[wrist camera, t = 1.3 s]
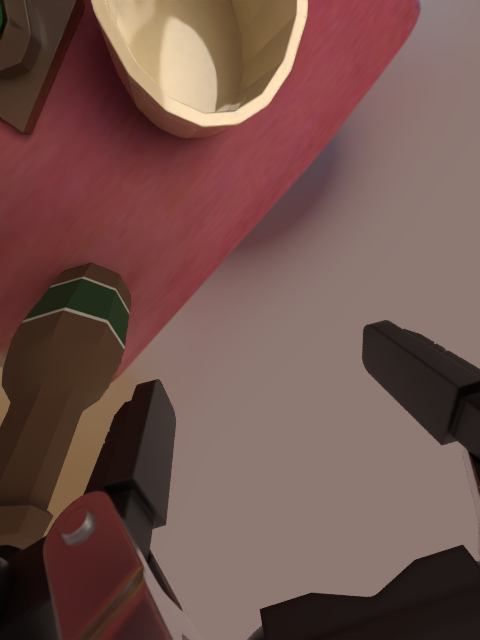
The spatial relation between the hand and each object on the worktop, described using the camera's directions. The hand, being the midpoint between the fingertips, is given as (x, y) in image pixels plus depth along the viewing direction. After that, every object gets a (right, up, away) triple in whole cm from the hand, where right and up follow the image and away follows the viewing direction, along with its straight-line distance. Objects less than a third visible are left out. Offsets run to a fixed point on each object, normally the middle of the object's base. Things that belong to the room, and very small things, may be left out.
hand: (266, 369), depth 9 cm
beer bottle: (-18, +5, +19) cm, 27 cm away
